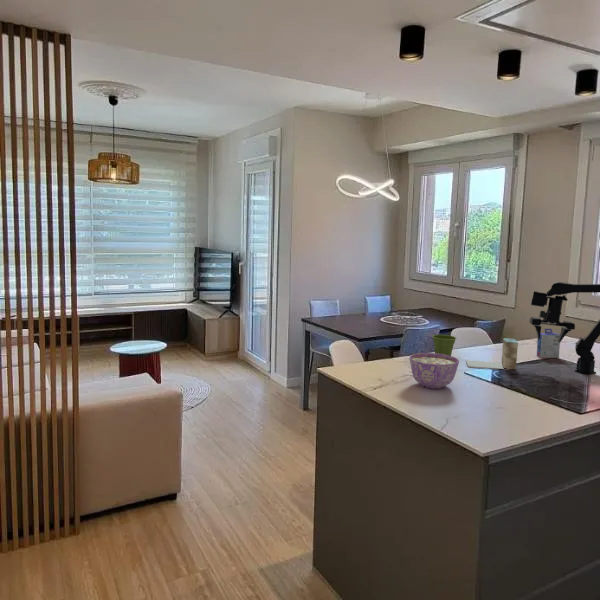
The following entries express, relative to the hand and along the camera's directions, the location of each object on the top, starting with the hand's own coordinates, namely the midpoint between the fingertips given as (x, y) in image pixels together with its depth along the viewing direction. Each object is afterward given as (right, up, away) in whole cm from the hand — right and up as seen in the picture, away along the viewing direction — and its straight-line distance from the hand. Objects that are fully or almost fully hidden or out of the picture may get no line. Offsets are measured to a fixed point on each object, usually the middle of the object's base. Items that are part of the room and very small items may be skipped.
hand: (548, 341), depth 246 cm
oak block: (-18, -13, +2) cm, 22 cm away
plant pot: (-46, -10, +16) cm, 49 cm away
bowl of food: (-63, -16, -30) cm, 71 cm away
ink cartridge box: (+11, -10, +24) cm, 28 cm away
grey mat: (-29, -12, +4) cm, 32 cm away
